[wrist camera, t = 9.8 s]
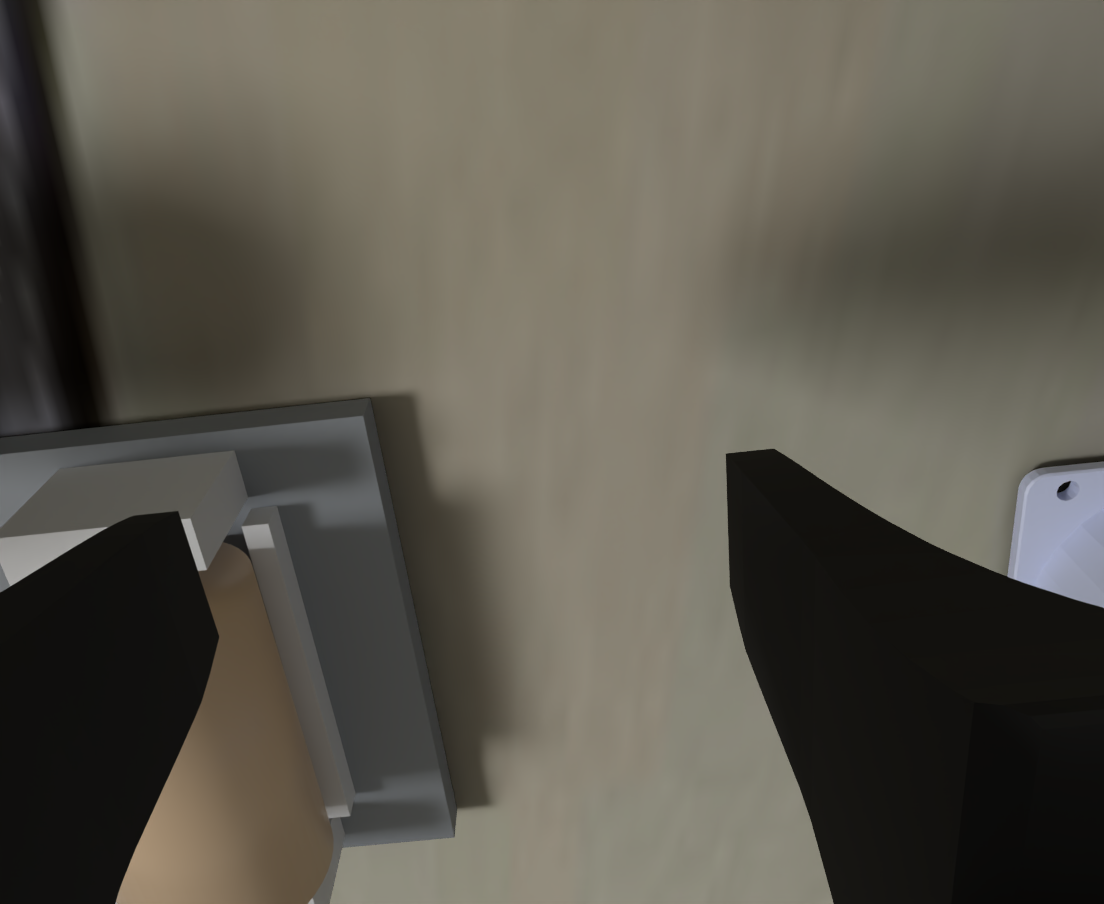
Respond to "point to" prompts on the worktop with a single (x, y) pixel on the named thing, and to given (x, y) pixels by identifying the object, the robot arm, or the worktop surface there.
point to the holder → (273, 579)
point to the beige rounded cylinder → (236, 775)
